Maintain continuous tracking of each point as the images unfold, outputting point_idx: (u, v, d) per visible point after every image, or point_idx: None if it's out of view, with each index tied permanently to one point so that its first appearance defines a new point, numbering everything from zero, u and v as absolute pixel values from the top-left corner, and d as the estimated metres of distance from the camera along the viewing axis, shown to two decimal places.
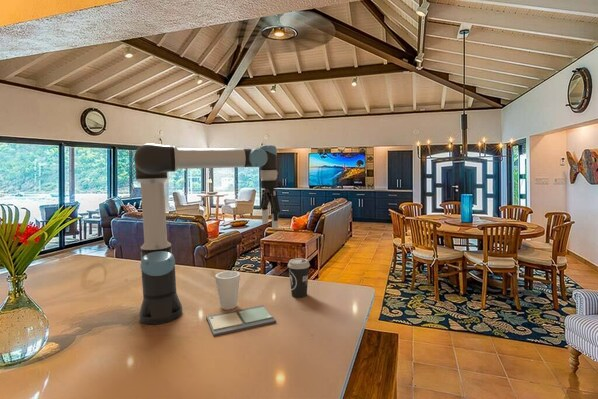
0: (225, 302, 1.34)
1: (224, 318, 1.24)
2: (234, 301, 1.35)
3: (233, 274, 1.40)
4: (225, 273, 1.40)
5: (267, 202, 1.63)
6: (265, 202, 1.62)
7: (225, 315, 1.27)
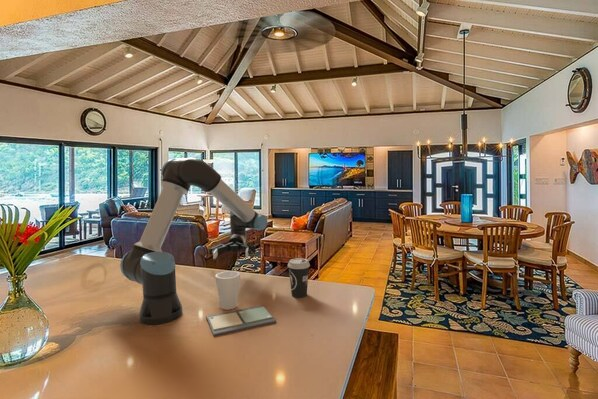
0: (225, 302, 1.34)
1: (224, 318, 1.24)
2: (234, 301, 1.35)
3: (233, 274, 1.40)
4: (225, 273, 1.40)
5: (223, 250, 1.55)
6: (224, 248, 1.55)
7: (225, 315, 1.27)
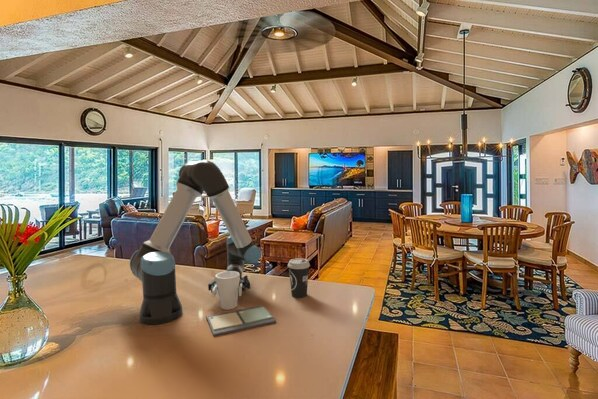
0: (225, 302, 1.34)
1: (224, 318, 1.24)
2: (234, 301, 1.35)
3: (233, 274, 1.40)
4: (225, 273, 1.40)
5: None
6: None
7: (225, 315, 1.27)
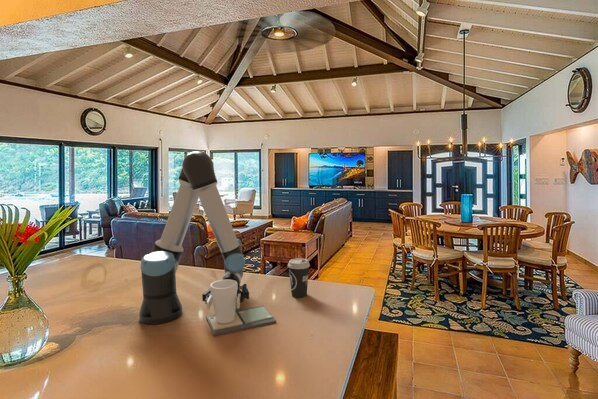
0: (221, 315, 1.19)
1: None
2: (231, 314, 1.20)
3: (230, 283, 1.25)
4: (221, 282, 1.25)
5: None
6: None
7: None
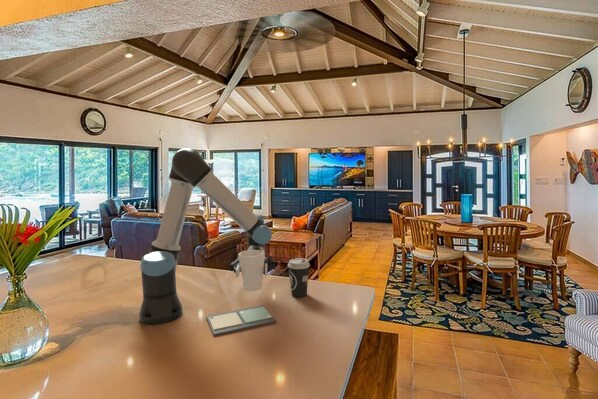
0: (250, 283, 1.22)
1: (224, 318, 1.24)
2: (259, 282, 1.23)
3: (257, 253, 1.28)
4: (248, 252, 1.28)
5: None
6: None
7: (225, 315, 1.27)
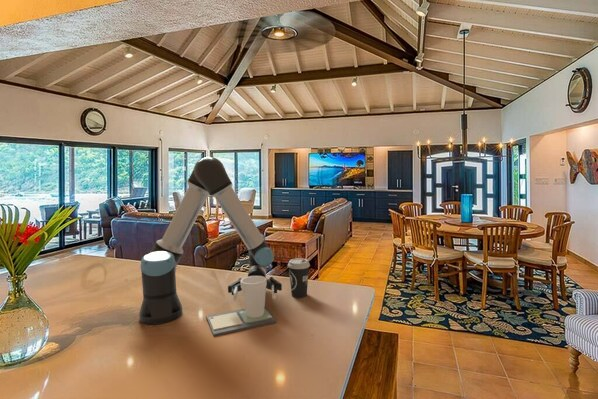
0: (252, 310, 1.24)
1: (224, 318, 1.24)
2: (261, 308, 1.25)
3: (259, 279, 1.30)
4: (250, 278, 1.30)
5: None
6: None
7: (225, 315, 1.27)
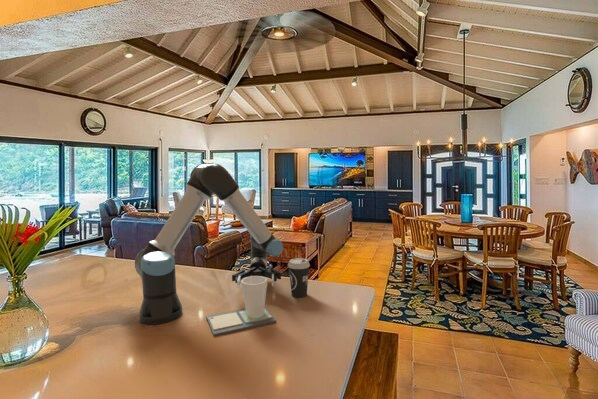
0: (252, 310, 1.24)
1: (224, 318, 1.24)
2: (261, 309, 1.25)
3: (259, 279, 1.30)
4: (251, 278, 1.30)
5: (246, 276, 1.46)
6: (246, 274, 1.46)
7: (225, 315, 1.27)
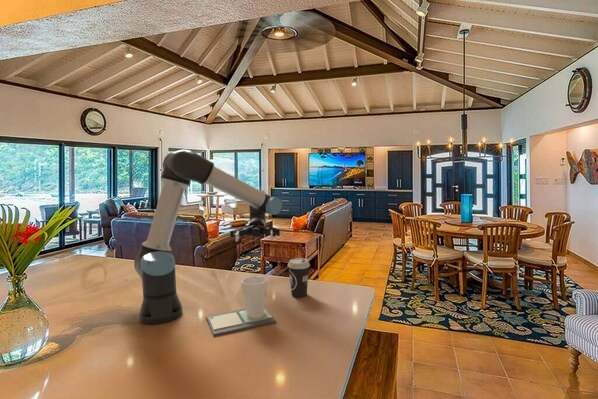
0: (252, 310, 1.24)
1: (224, 318, 1.24)
2: (261, 309, 1.25)
3: (259, 279, 1.30)
4: (251, 278, 1.30)
5: (245, 233, 1.44)
6: (245, 231, 1.44)
7: (225, 315, 1.27)
